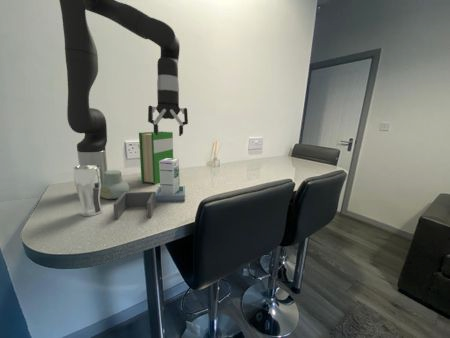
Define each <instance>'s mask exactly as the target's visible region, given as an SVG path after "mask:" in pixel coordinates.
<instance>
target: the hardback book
mask: <svg viewBox="0 0 450 338" xmlns="http://www.w3.org/2000/svg"><path fill="white" fill-rule="evenodd" d="M173 134H174V133H173V131H158V135H156V133H154V131H144V132H138V140H139V143H138V144H139V158H140V159H139V160H140V179H141V184H145V183H153V185H157V184H160V170H159V161H160V160H163V159H166V158H174V136H173Z"/></svg>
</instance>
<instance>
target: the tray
mask: <svg viewBox="0 0 450 338" xmlns="http://www.w3.org/2000/svg"><path fill="white" fill-rule="evenodd" d="M155 193H156V203H173V202H176V203H177V202H185V201H186V199H185V198H186V186H184V185H183V186H181V185H180V193H179V194H177V195H161V190H160V186H158V187H157V189H156V191H155Z"/></svg>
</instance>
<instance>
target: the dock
mask: <svg viewBox="0 0 450 338" xmlns="http://www.w3.org/2000/svg"><path fill="white" fill-rule="evenodd" d="M156 205H157V202H156V191H129V192H124V193H123V194H122V195H121V196H120V197H119V198H116V200H115V202H114V203H113V205H112V206H113V215H114V220H119V219H120V218H121V216H122V215H123V213H124V212H125V210H126V209H127V208H130V207H132V208H133V207H135V208H136V207H146V208H147V212H146V213H147V219H150V218H151V219H152V216H153V214H154V213H155V212H154V211H155V209H156Z"/></svg>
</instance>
